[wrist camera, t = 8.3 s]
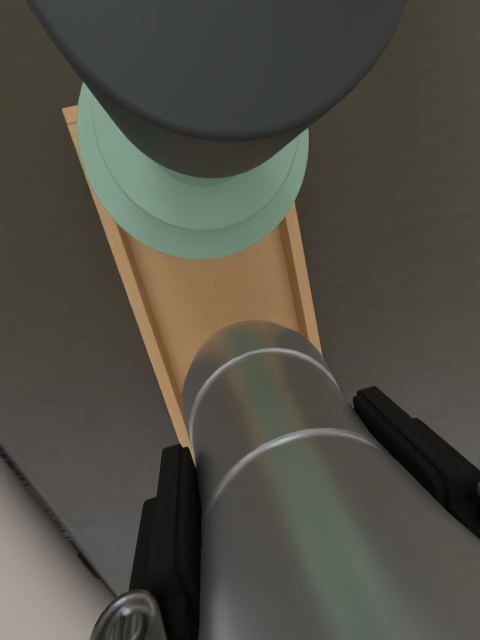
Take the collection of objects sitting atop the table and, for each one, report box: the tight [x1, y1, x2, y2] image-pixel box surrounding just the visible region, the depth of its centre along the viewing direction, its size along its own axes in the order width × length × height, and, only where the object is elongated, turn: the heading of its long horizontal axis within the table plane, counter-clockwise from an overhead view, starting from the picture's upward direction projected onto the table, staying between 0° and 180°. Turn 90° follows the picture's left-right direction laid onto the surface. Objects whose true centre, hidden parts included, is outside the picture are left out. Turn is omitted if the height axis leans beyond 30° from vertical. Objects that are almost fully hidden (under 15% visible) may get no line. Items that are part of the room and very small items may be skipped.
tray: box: [62, 105, 323, 467], centre depth 24 cm, size 30×12×3 cm, turn 14°
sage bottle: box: [26, 0, 408, 260], centre depth 12 cm, size 6×6×20 cm
